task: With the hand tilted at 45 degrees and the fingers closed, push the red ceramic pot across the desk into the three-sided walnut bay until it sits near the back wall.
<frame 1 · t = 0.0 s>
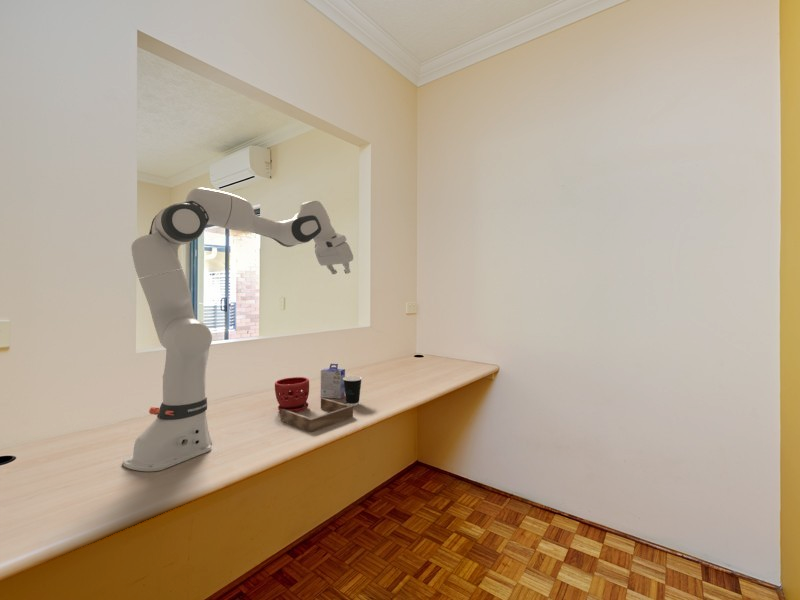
hand: (341, 273, 148), 54 cm above the table, fingers open, 8 cm apart
dixie cup: (352, 404, 154), on the table
ink cartridge box: (333, 397, 165), on the table
plant pot: (292, 410, 146), on the table
walnut bay: (316, 418, 136), on the table
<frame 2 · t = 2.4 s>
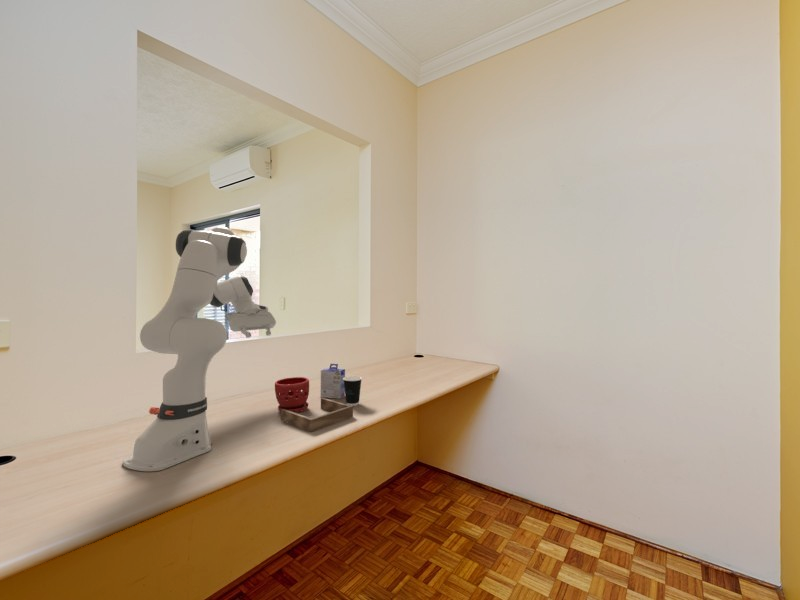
hand: (259, 335, 160), 28 cm above the table, fingers open, 8 cm apart
nothing on the table moved.
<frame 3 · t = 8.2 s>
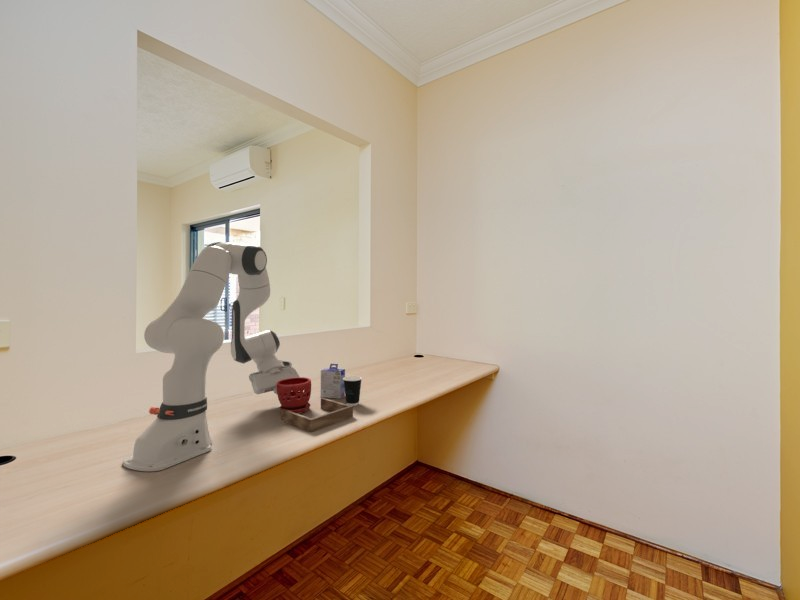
hand: (284, 397, 149), 4 cm above the table, fingers closed
plant pot: (294, 411, 145), on the table, touching gripper
everything else where it was.
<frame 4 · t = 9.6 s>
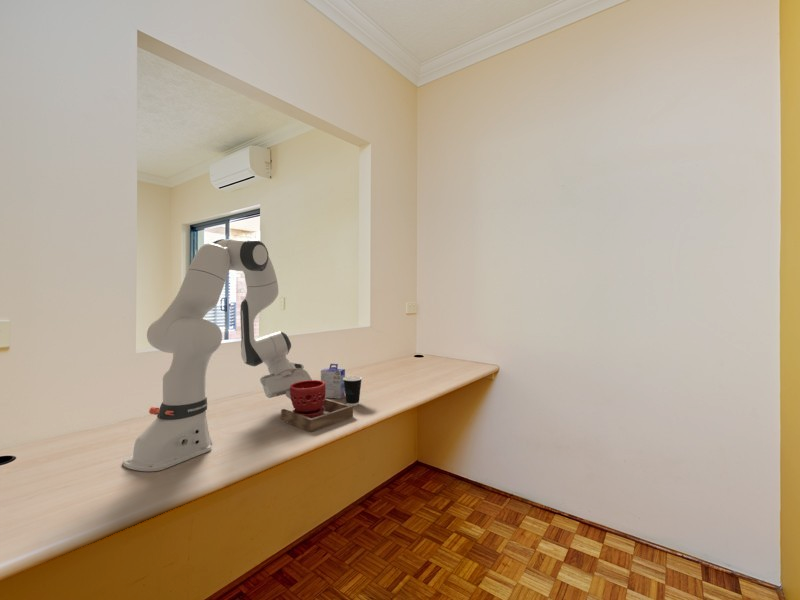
hand: (296, 400, 144), 4 cm above the table, fingers closed
plant pot: (308, 415, 140), on the table, touching gripper
everything else where it was.
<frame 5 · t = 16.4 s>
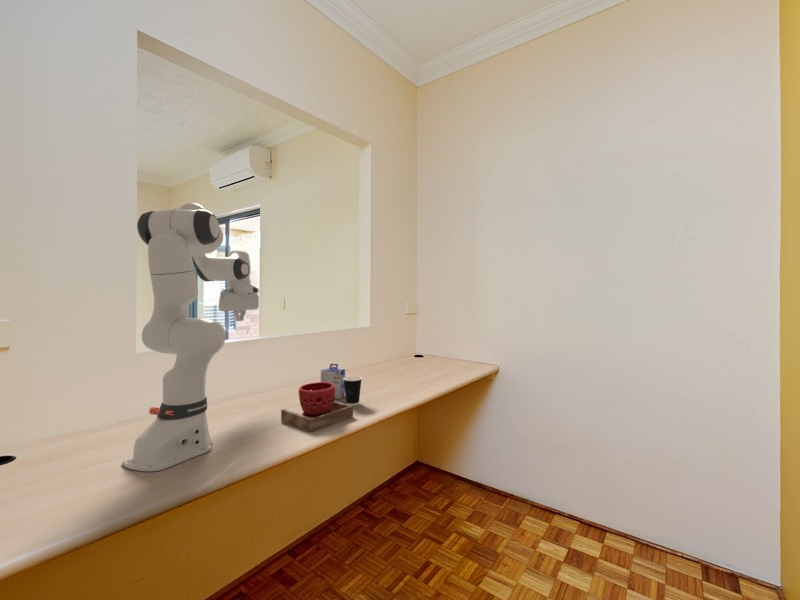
hand: (239, 321, 159), 34 cm above the table, fingers closed
plant pot: (317, 418, 137), on the table
everything else where it was.
at the end: plant pot 1.0 cm from the walnut bay (horizontally); plant pot tilted 0° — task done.
